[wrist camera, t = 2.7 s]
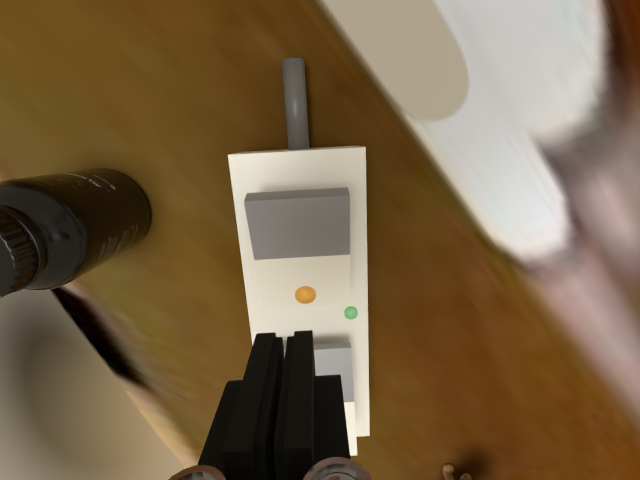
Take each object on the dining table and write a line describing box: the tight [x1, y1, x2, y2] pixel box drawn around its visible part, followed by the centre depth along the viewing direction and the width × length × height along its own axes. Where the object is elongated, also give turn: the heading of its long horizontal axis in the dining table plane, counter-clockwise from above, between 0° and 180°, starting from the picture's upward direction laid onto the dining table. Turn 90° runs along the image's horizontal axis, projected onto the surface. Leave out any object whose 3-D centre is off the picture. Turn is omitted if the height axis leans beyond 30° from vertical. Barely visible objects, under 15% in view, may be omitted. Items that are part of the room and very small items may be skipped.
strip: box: [228, 58, 370, 437], centre depth 26 cm, size 9×30×6 cm, turn 3°
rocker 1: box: [244, 187, 350, 308], centre depth 22 cm, size 6×8×2 cm
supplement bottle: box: [0, 169, 150, 298], centre depth 22 cm, size 7×7×12 cm
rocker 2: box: [284, 342, 357, 455], centre depth 25 cm, size 6×8×2 cm
